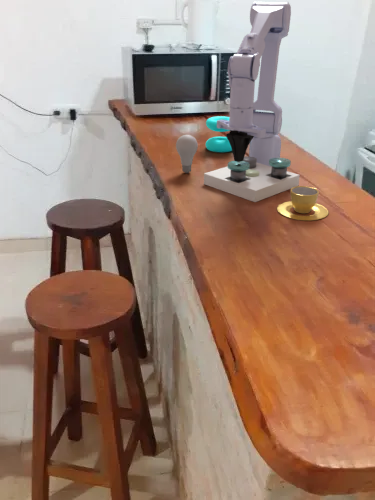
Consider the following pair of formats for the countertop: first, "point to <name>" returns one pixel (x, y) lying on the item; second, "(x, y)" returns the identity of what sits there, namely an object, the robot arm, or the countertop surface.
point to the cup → (303, 204)
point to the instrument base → (251, 181)
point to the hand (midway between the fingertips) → (238, 160)
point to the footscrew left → (279, 167)
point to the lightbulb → (186, 151)
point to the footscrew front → (238, 171)
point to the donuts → (218, 142)
